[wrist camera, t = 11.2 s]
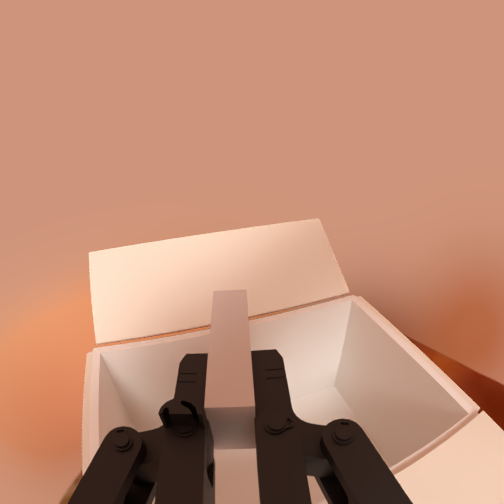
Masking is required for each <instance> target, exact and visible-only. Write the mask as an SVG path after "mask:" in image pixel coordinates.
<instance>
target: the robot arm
mask: <svg viewBox="0 0 504 504" xmlns="http://www.w3.org/2000/svg"><path fill="white" fill-rule="evenodd" d="M248 319H249V318H248V305H247V290H246V289H243V290H223V291H213V302H212V313H211V324H210V336H209V348H208V353H196V354H186V355H185V356H184V357H183V359H182V360H181V361H180V363H179V369H178V375H177V383H176V388H175V394H174V398H173V399H171V400H169V401H167V402H166V403H164V404H163V405H162V406H161V408H160V410H159V412H158V414H159V416H160V419H161V421H162V423H163V425H162V426H160V427H159V428H156V429H153V430H148V431H143V432H139V433H138V432H137V430H135V429H133V428H131V427H126V426H122V427H116V428H114V429H113V430H111V431H110V432H109V433H108V434H107V435H106V436H105V438H104V440H103V441H102V443H101V445H100V447H99V448H98V450H97V452H96V454H95V455H94V457H93V459H92V461H91V463H90V464H89V466H88V468H87V470H86V472H85V473H84V475H83V477H82V479H81V481H80V482H79V484H78V486H77V488H76V490H75V491H74V493H73V495H72V497H71V499H70V501H69V502H68V504H152V502H153V500H154V497H155V503H154V504H215V460H214V448H215V450H227V449H253V448H256V457H257V472H258V486H259V499H260V504H312V502H311V496H310V490H309V484H308V479H307V476H314V477H315V479H316V481H317V483H318V485H319V487H320V489H321V491H322V493H323V495H324V497H325V499H326V500H327V502H328V504H413V503H412V501H411V500H410V499H409V497H408V496H407V494H406V493H405V491H404V490H403V488H402V487H401V485H400V484H399V482H398V481H397V479H396V478H395V476H394V475H393V473H392V472H391V471H390V469H389V468H388V466H387V465H386V463H385V462H384V460H383V459H382V457H381V456H380V454H379V453H378V451H377V450H376V448H375V447H374V445H373V444H372V442H371V441H370V439H369V438H368V436H367V435H366V433H365V432H364V430H363V429H362V427H360V426H359V425H358V424H357V423H356V422H354V421H352V420H350V419H337V420H333V421H331V422H330V423H328V424H327V425H318V424H312V423H308V422H305V421H303V420H301V419H300V418H299V417H297V416H296V414H295V413H294V411H293V409H292V404H291V399H290V393H289V388H288V382H287V378H286V371H285V366H284V361H283V357H282V356H281V355H280V353H279V352H278V351H277V350H276V349H270V350H255V351H251V346H250V332H249V320H248Z"/></svg>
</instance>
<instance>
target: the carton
mask: <svg viewBox="0 0 504 504" xmlns="http://www.w3.org/2000/svg"><path fill="white" fill-rule="evenodd" d="M249 332H250V346H251V351H255V350H270V349H276V350H277V351H278V352H279V353H280V355H281V356H282V357H283V361H284V366H285V371H286V378H287V382H288V388H289V393H290V399H291V404H292V409H293V411H294V413H295V414H296V416H297V417H299V418H300V419H301V420H303V421H305V422H308V423H312V424H318V425H327V424H328V423H330V422H331V421H333V420H337V419H350V420H352V421H354V422H356V423H357V424H358V425H359V426H360V427H362V429H363V430H364V432H365V433H366V435H367V436H368V438H369V439H370V441H371V442H372V444H373V445H374V447H375V448H376V450H377V451H378V453H379V454H380V456H381V457H382V459H383V460H384V462H385V463H386V465H387V466H388V468H389V469H390V471H391V472H392V473H393V475H394V476H395V478H396V479H397V481H398V482H399V484H400V485H401V487H402V488H403V490H404V491H405V493H406V494H407V496H408V497H409V499H410V500H411V501H412V503H413V504H504V431H503V430H502V429H501V428H500V427H499V426H498V425H497V424H496V423H495V422H494V421H493V420H492V419H491V418H490V417H489V416H488V415H487V414H486V413H485V412H484V411H482V412H481V413H480V414H478V411H479V409H480V407H479V406H478V405H477V404H476V403H475V402H474V401H473V400H472V399H471V398H470V397H469V396H468V395H467V394H466V393H465V392H464V391H463V390H462V389H460V388H459V387H458V386H457V385H456V384H455V383H454V382H453V381H452V380H451V379H450V378H449V377H448V376H447V375H446V374H445V373H444V372H443V371H442V370H441V369H440V368H439V367H438V366H437V365H435V364H434V363H433V362H432V361H431V360H430V359H429V358H428V357H427V356H426V355H425V354H424V353H423V352H422V351H421V350H419V349H418V348H417V347H416V346H415V345H414V344H413V343H412V342H411V341H410V340H409V339H408V338H407V337H405V336H404V335H403V334H402V333H401V332H400V331H399V330H398V329H397V328H396V327H395V326H393V325H392V324H391V323H390V322H389V321H388V320H387V319H385V317H383V316H382V315H381V314H380V313H379V312H378V311H377V310H376V309H375V308H373V307H372V306H371V305H370V304H369V303H368V302H367V301H365V299H363V298H362V297H361V296H358V297H356V296H354V295H351V296H347V297H343V298H340V299H336V300H333V301H328V302H324V303H320V304H317V305H313V306H309V307H305V308H301V309H296V310H292V311H288V312H284V313H280V314H275V315H271V316H267V317H262V318H258V319H253V320H249ZM209 336H210V329H206V330H201V331H196V332H190V333H185V334H179V335H174V336H168V337H163V338H157V339H151V340H145V341H139V342H133V343H127V344H120V345H113V346H106V347H99V348H93V352H88V353H87V361H86V370H85V382H84V396H83V418H82V420H83V421H82V471H83V475H84V473H85V472H86V470H87V468H88V466H89V464H90V463H91V461H92V459H93V457H94V455H95V454H96V452H97V450H98V448H99V447H100V445H101V443H102V441H103V440H104V438H105V436H106V435H107V434H108V433H109V432H110V431H111V430H113V429H114V428H116V427H122V426H126V427H131V428H133V429H135V430H137V432H138V433H139V432H143V431H148V430H153V429H156V428H159V427H160V426H162V425H163V423H162V421H161V419H160V416H159V414H158V412H159V410H160V408H161V406H162V405H163V404H164V403H166V402H167V401H169V400H171V399H173V398H174V394H175V388H176V383H177V375H178V369H179V363H180V361H181V360H182V359H183V357H184V356H185V355H186V354H196V353H208V348H209ZM214 460H215V504H260V499H259V486H258V472H257V457H256V448H253V449H227V450H215V448H214ZM307 479H308V484H309V490H310V496H311V502H312V504H328V502H327V500H326V499H325V497H324V495H323V493H322V491H321V489H320V487H319V485H318V483H317V481H316V479H315V477H314V476H307ZM154 503H155V497H154V500H153V502H152V504H154Z"/></svg>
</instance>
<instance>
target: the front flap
mask: <svg viewBox="0 0 504 504" xmlns="http://www.w3.org/2000/svg"><path fill="white" fill-rule="evenodd" d="M89 266H90V284H91V298H92V310H93V320H94V328H95V337H96V344H98V345H100V344H107V343H114V342H120V341H127V340H132V339H139V338H146V337H152V336H157V335H163V334H168V333H174V332H180V331H185V330H191V329H196V328H201V327H206V326H210V324H211V313H212V302H213V291H223V290H243V289H246V290H247V305H248V318H250V317H254V316H259V315H263V314H268V313H272V312H277V311H280V310H285V309H289V308H294V307H297V306H302V305H306V304H310V303H314V302H318V301H322V300H326V299H330V298H334V297H337V296H341V295H345V294H348V293H349V289H348V287H347V284H346V281H345V279H344V277H343V274H342V272H341V269H340V267H339V264H338V262H337V259H336V257H335V255H334V252H333V250H332V248H331V245H330V243H329V241H328V238H327V236H326V234H325V231H324V229H323V227H322V224H321V222H320V220H319V219H310V220H303V221H295V222H287V223H280V224H272V225H265V226H258V227H250V228H243V229H236V230H230V231H222V232H215V233H208V234H202V235H195V236H188V237H182V238H175V239H169V240H163V241H156V242H150V243H143V244H137V245H131V246H125V247H119V248H113V249H106V250H101V251H95V252H89Z"/></svg>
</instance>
